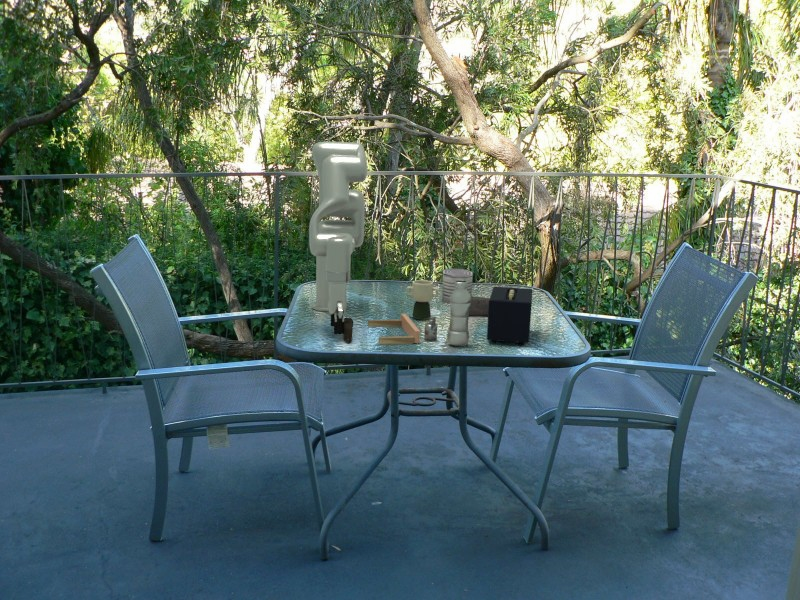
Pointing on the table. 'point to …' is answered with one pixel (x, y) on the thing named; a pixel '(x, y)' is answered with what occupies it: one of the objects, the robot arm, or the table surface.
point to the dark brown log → (348, 329)
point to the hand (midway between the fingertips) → (337, 330)
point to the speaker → (509, 315)
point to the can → (450, 279)
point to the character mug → (422, 297)
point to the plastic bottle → (459, 314)
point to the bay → (391, 339)
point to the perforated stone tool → (479, 306)
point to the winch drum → (431, 330)
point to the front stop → (410, 328)
